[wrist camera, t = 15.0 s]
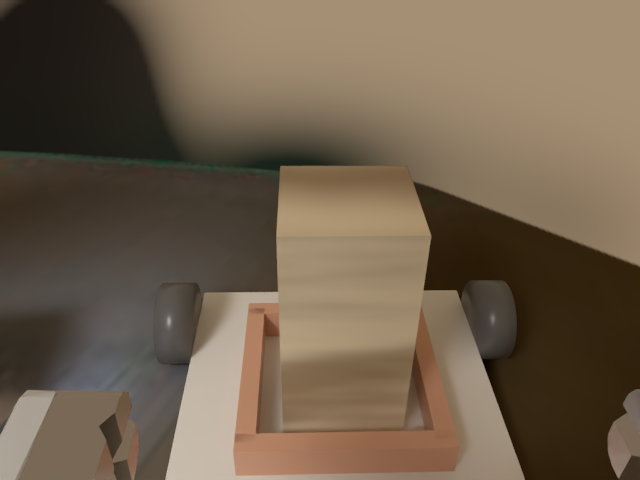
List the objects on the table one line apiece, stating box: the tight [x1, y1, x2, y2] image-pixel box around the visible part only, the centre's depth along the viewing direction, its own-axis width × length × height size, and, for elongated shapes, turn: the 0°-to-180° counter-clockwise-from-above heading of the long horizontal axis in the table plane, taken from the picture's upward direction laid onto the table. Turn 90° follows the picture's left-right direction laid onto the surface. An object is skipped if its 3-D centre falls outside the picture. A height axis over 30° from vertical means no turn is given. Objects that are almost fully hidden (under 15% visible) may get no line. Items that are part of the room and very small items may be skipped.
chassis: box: [154, 280, 525, 480], centre depth 23 cm, size 20×17×4 cm
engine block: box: [276, 166, 431, 433], centre depth 23 cm, size 5×5×10 cm
